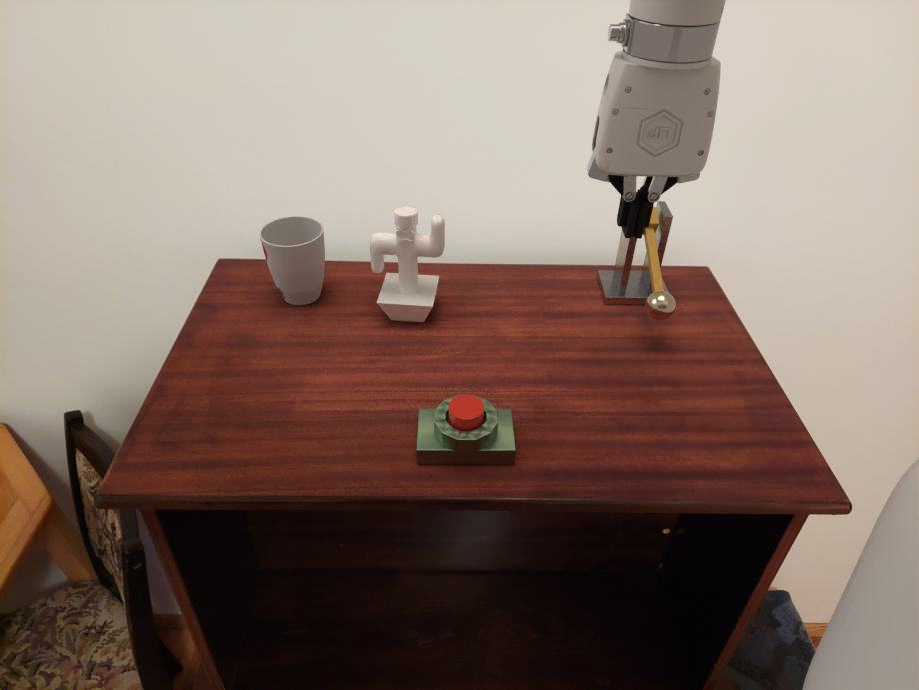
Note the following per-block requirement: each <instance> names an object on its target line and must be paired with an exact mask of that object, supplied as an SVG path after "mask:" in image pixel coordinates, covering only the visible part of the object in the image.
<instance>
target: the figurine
mask: <svg viewBox="0 0 919 690" xmlns="http://www.w3.org/2000/svg"><path fill="white" fill-rule="evenodd" d="M393 213H394V215H393V217H394V225H395V233H394V232H375V233H373V234H372V235H371V236H370V239H369V254H370V267H371V271H372V272H373V273H374V274H381V273H382V272H383V271H384V269H385V256H396V257H397V268H398V269H397V271H398V272H386V273H385V276H384V279H383V282H382V285H381V289H380V292H379V294H378V297H377V300H376V304H377V306H378V307H379V308H380V309H381V310H382V311H383V312H384V313H385V314H386V316H387V317H388V318H389V319H390V321H397V322H398V321H399V322H413V323H415V322H416V323H425V321H426V319H427V318H428V316H429V315H430V313H431V311H432V309H433V308H434V303H435V299H436V294H437V290H438V285H439V280H440V275H433V274H419V267H418V266H419V265H418V263H419V261H418V258H434V259H435V258H440V257H442V255H443V254H444V251H445V246H446V244H445V243H446V242H445V241H446V222H445V221H446V220H445V218H444V216H443V215H442V214H439V213H438V214H435V215H433V216H432V218H431V222H430V226H431V227H430V234H419V233H418V230H417V226H418V224H419V212H418V209H417V208H414V207H411V206H401V207H397V208H396V209H394V211H393Z"/></svg>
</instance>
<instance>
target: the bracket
mask: <svg viewBox="0 0 919 690" xmlns="http://www.w3.org/2000/svg"><path fill="white" fill-rule="evenodd" d="M655 207H657V213H658V219H659V226H658V228H657V230H656V232H655V239H656V245H657V251H658V258H659V264H660V270H662V269H661V268H662V265H663V259H664V256H665V252H666V247H667V244H668V239H669V237H670V236H669V235H670V232H671V227H672V224H673V219H674V214H673V213H672V212H671V210H670V208H669V206H668V204H667V203H666V201H665V200H658V201H657V202H656V206H655ZM619 237H620V239H619V242H618V246H617V247H618V248H617V251H616V252H617V253H616V257H615V258H616V259H615V262H614V268H613V269H611V270H610V269H597V271H596V280H597V283H598V286H599V289H600V293H601V296H602V299H603V303H604V305H632V306H633V305H636V306H638V305H639V306H640V305H642V306H643V305H644V306H645V303H646V300H647V298H648V297H649V296H650V295H651V294H652V293H653V290H652V284H651V277H650V271H649V264H648V258H647V251H645V256H644V260H643V265H642V269H641V270H632V265H633V260H634V255H635V251H636V246H637V241H638V239H637V238H635V237H634V236H633V237H631V238H625V236H624V233H623V230H622V229H621V233H620V236H619ZM662 282H663V288H664V291H665V292H668V293H670V292H669V289H668V287H667V285H666V283H665V280H664V278H663V277H662Z"/></svg>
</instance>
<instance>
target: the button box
mask: <svg viewBox="0 0 919 690" xmlns="http://www.w3.org/2000/svg"><path fill="white" fill-rule="evenodd" d="M459 395H460V394H456V395H453V396H450V397H448V398H446V399H443V400H441V402H440V403H439V404H438V405H437V406H436V408H432V407H431V408H430V407H428V408H427V407H426V408H424V407H423V408H421V407H420V408H418V414H417V430H416V431H417V432H416V433H417V434H416V437H417V438H416V449H415V450H416V465H515V462H516V453H517V447H516V438H515V428H514V418H513V410H512V408H496V407H495V406H494V405H493V404H492V403H491V402H490V401H489V400H488V399H485V398H483V397H480V396H479V395H475V394H472V395H473V396H475V397H477V398H479V399H480V400H481V401H482V402H483V404H484V419H483V423H482V425H481V426H480V427H479V428H477V429H476V430H473V431H460V430H457V429H455V428H454V427H452V426H451V424H450V423H449V419H448V407H449V403H450V401H451V400H452V399H453V398H455V397H457V396H459Z"/></svg>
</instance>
